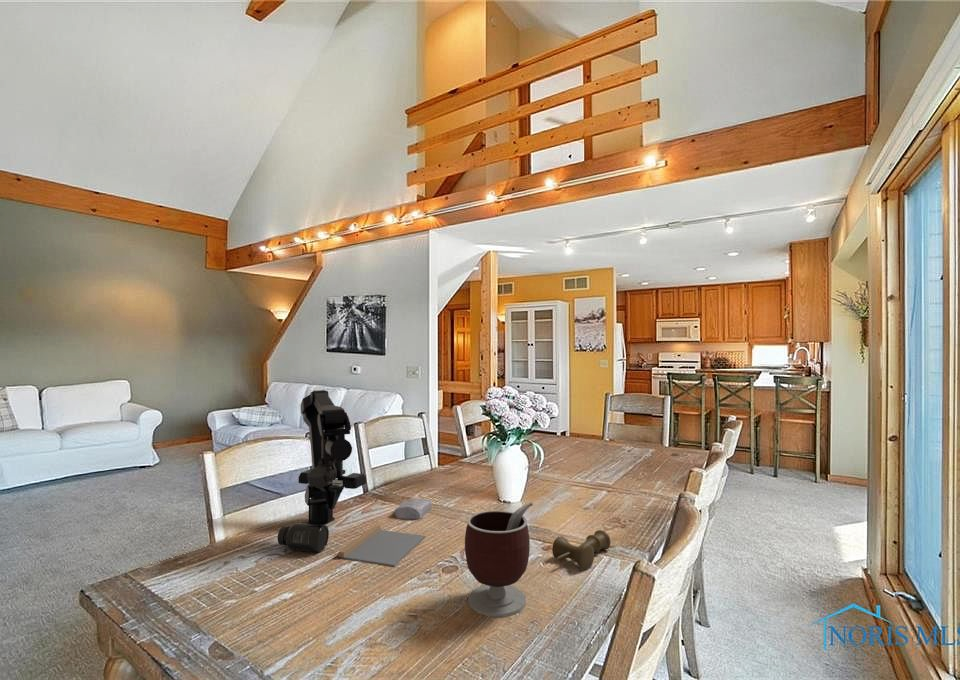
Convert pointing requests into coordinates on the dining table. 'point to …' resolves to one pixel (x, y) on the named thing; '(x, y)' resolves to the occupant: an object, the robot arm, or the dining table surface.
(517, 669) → the dining table surface
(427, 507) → the stone block
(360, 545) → the mat
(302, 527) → the supplement bottle
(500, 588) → the mate gourd
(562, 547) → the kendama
